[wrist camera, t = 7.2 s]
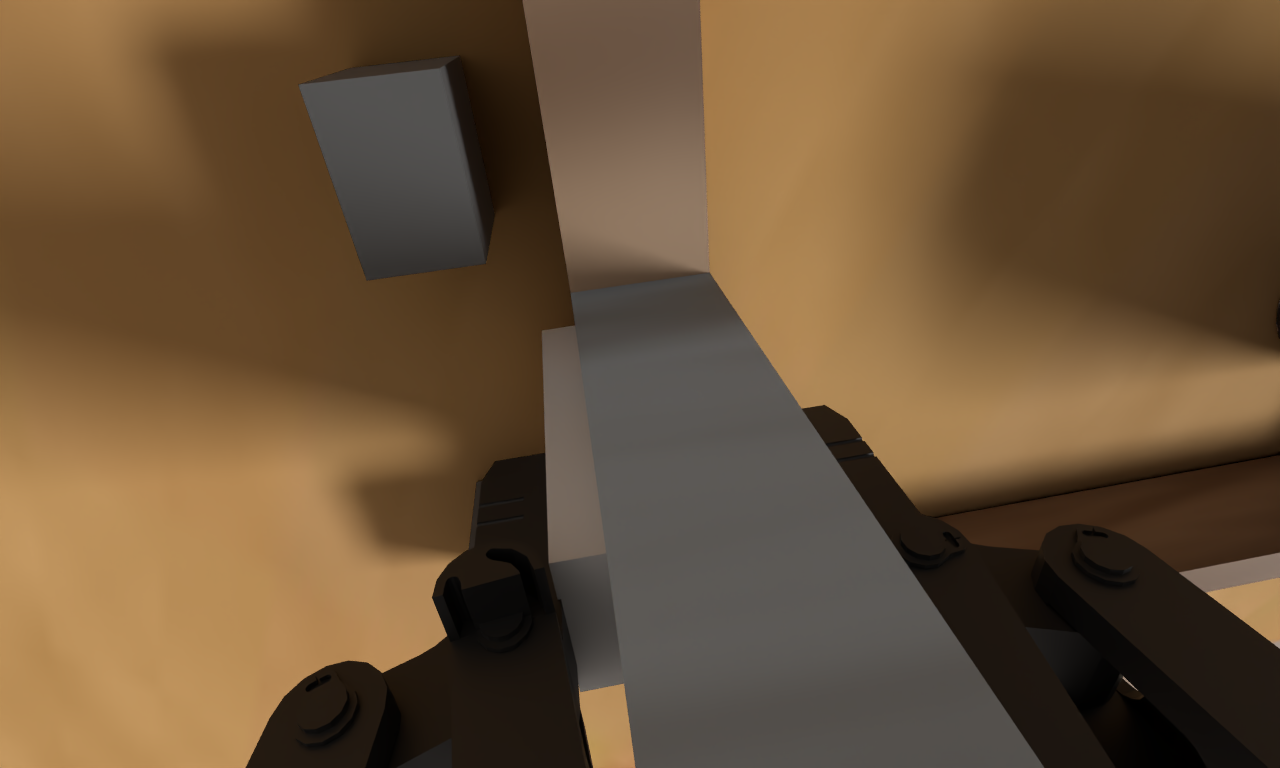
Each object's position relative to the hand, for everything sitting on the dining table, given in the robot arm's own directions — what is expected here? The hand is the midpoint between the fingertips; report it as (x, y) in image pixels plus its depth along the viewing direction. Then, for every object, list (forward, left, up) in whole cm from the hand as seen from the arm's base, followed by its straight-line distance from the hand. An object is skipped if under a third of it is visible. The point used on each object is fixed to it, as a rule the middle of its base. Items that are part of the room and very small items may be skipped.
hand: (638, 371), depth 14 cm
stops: (0, -4, -2) cm, 4 cm away
